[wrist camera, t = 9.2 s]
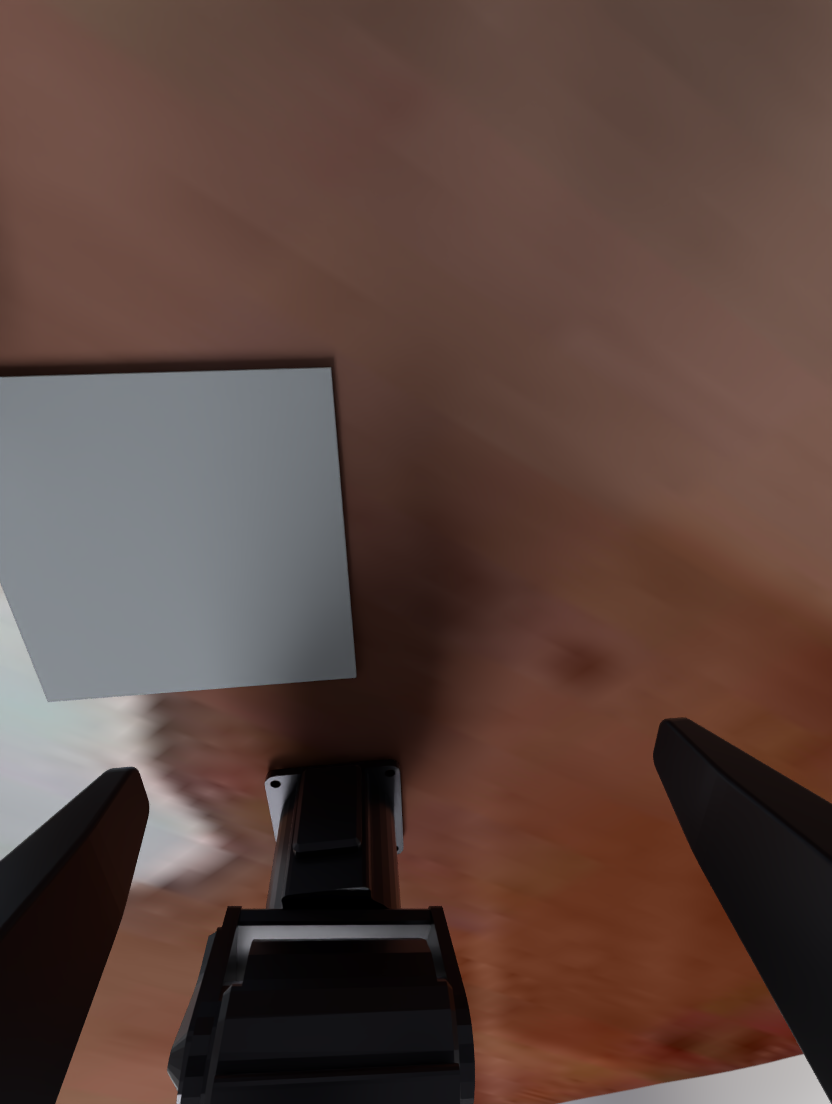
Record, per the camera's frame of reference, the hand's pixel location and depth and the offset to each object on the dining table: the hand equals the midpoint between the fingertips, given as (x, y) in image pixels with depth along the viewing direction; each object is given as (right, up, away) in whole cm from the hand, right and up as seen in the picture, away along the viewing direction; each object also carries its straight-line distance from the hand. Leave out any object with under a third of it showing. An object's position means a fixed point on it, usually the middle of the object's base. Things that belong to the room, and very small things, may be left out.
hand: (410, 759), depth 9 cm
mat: (-9, +4, +11) cm, 15 cm away
